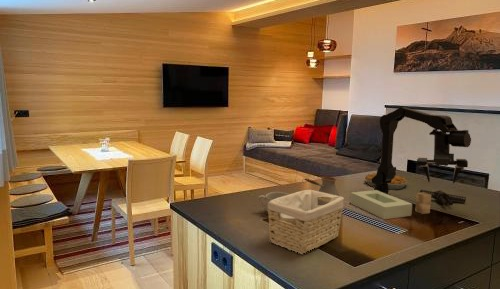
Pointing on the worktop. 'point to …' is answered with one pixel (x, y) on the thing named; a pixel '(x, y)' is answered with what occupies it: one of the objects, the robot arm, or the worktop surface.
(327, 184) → the coffee pot
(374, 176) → the robot arm
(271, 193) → the teacup
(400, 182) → the pie
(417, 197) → the wooden block
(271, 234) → the storage basket
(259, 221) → the worktop surface
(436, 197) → the black irregular piece
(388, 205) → the well box
